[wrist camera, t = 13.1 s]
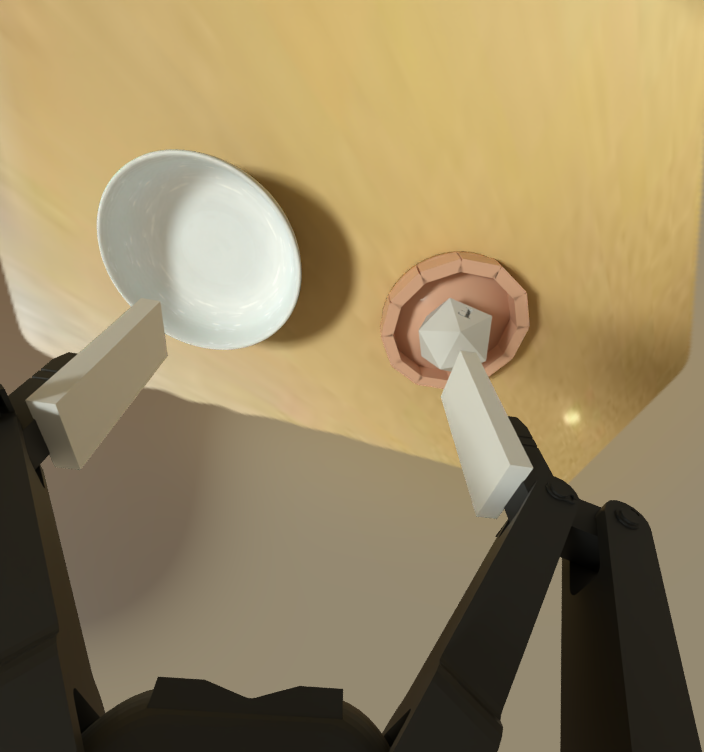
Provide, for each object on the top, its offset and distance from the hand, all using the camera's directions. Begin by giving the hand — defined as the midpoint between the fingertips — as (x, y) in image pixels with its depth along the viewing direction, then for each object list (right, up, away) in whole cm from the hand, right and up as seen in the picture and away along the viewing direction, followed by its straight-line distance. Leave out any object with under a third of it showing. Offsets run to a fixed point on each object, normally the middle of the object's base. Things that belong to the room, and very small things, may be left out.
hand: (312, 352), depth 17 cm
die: (+14, +6, +32) cm, 36 cm away
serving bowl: (-14, +15, +28) cm, 34 cm away
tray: (+15, +7, +33) cm, 37 cm away
